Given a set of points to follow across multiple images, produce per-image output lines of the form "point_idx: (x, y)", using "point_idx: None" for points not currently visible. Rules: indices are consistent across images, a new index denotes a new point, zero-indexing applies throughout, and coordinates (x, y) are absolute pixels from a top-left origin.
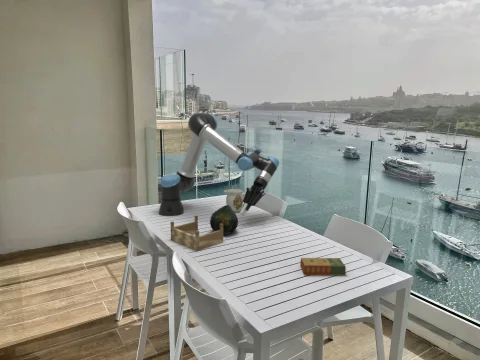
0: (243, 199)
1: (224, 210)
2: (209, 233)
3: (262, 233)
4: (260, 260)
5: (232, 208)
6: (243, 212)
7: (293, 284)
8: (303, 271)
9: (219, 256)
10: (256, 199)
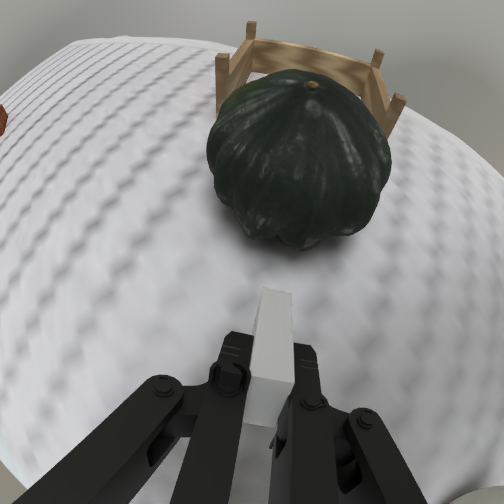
0: (387, 437)
1: (287, 70)
2: (240, 54)
3: (92, 283)
4: (73, 101)
5: (464, 500)
6: (257, 313)
7: (29, 90)
8: (5, 115)
9: (173, 70)
10: (85, 447)
